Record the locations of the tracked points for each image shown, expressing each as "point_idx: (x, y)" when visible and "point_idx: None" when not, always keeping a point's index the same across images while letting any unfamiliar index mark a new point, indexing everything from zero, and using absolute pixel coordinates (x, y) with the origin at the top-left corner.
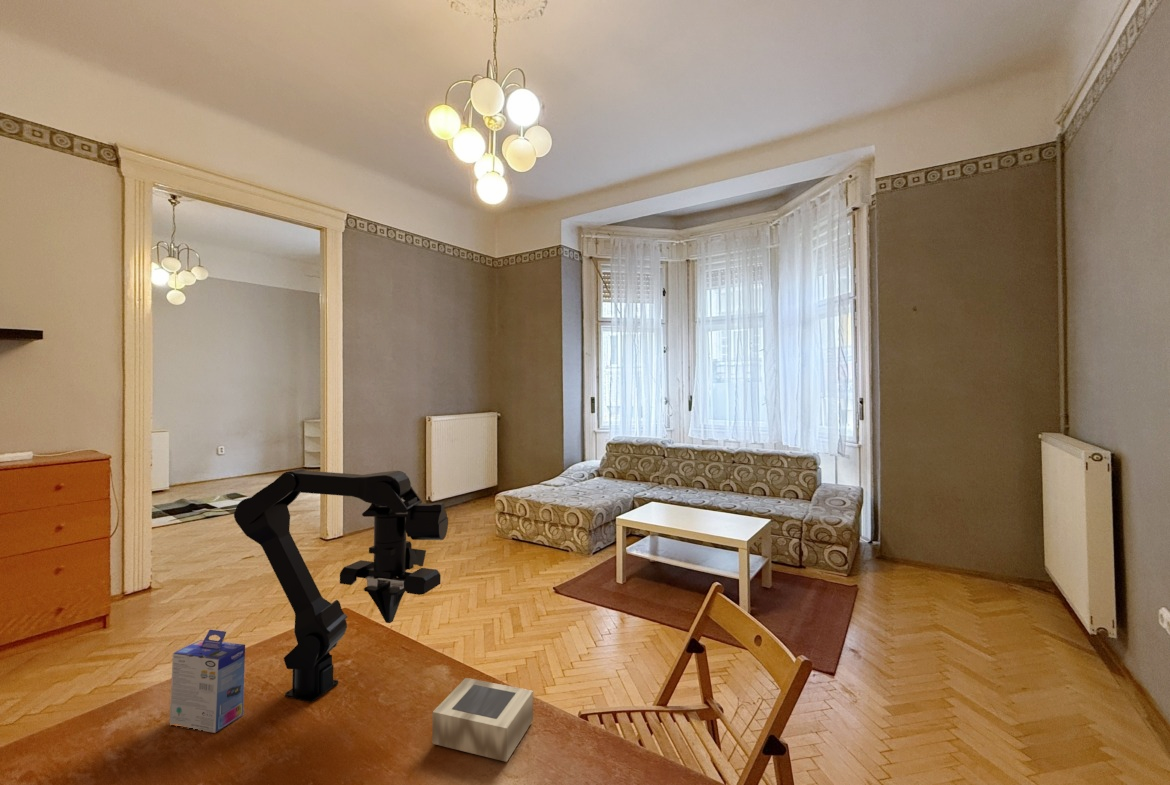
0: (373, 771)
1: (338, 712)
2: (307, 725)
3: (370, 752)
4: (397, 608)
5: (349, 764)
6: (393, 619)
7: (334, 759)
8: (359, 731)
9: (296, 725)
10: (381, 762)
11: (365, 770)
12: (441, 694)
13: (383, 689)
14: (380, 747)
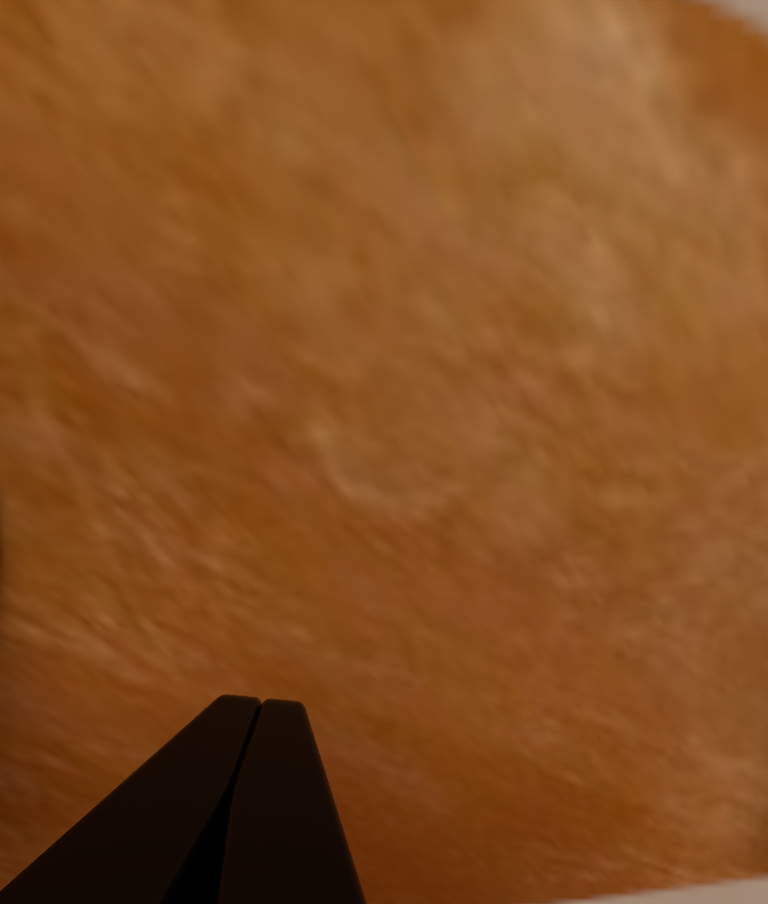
0: (611, 882)
1: (195, 622)
2: (126, 724)
3: (539, 810)
4: (363, 898)
5: (492, 870)
6: (308, 720)
7: (413, 859)
8: (405, 717)
9: (75, 732)
10: (618, 844)
11: (576, 883)
12: (712, 362)
13: (298, 388)
14: (567, 781)
